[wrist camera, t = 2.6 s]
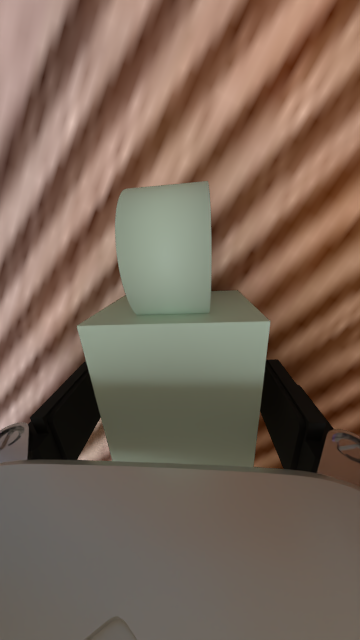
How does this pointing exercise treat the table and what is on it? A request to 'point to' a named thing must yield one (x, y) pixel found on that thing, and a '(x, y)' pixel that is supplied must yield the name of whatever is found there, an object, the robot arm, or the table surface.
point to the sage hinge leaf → (175, 340)
